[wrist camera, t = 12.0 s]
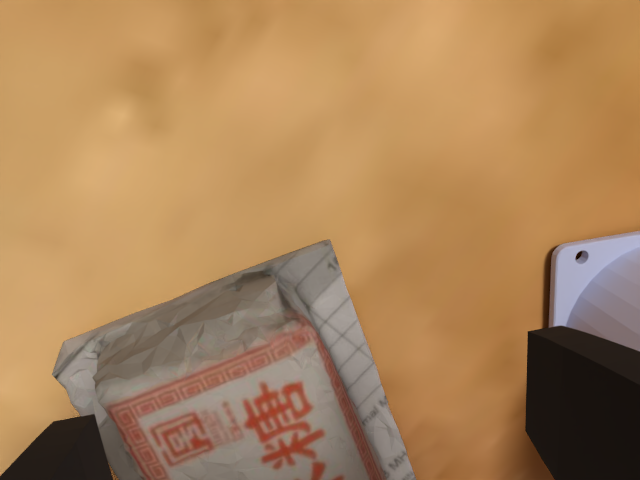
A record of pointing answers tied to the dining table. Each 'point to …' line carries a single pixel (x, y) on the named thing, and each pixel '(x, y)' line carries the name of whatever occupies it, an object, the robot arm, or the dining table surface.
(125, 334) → the packaged product
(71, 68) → the dining table surface
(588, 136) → the dining table surface
